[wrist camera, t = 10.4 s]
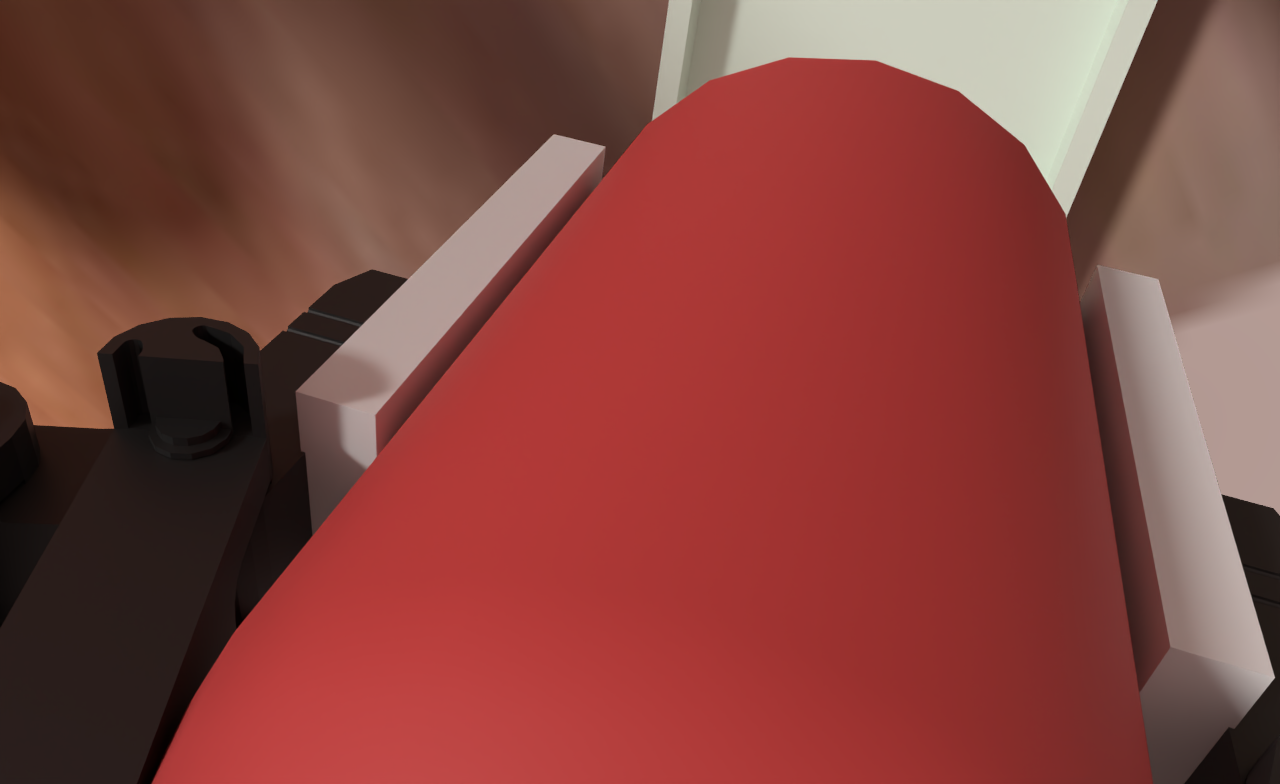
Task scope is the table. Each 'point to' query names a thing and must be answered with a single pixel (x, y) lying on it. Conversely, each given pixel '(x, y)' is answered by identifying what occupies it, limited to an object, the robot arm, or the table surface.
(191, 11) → the table surface
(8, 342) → the table surface
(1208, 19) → the table surface
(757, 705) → the beer can
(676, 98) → the tray
